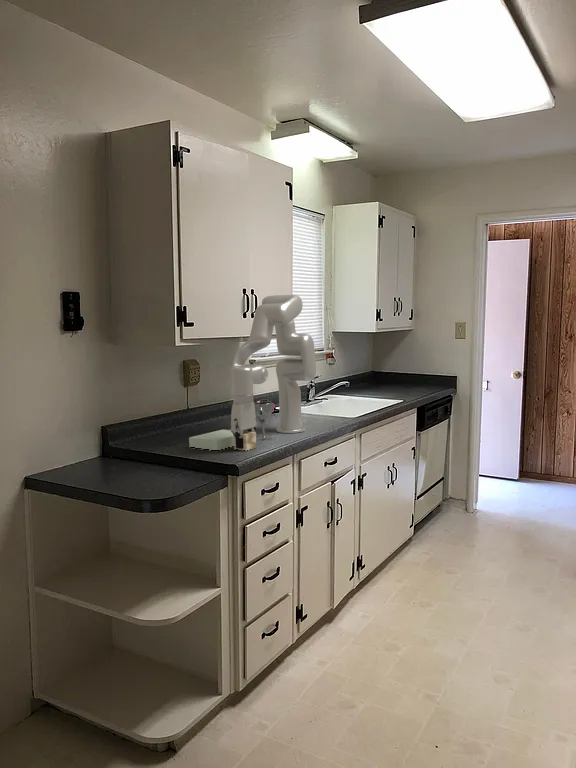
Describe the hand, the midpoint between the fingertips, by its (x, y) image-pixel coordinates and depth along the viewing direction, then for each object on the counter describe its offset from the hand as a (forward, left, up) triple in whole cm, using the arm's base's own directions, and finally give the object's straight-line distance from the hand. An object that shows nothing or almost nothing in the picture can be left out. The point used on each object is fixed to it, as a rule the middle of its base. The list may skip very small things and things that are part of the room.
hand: (245, 446), depth 236 cm
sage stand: (-2, -14, -1) cm, 14 cm away
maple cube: (0, 0, -1) cm, 1 cm away
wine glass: (-20, -6, -1) cm, 21 cm away
